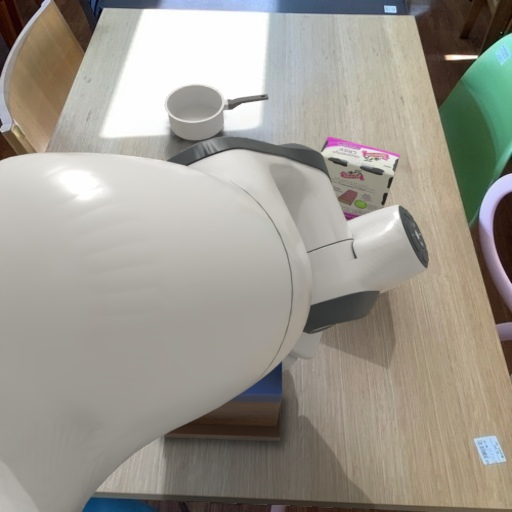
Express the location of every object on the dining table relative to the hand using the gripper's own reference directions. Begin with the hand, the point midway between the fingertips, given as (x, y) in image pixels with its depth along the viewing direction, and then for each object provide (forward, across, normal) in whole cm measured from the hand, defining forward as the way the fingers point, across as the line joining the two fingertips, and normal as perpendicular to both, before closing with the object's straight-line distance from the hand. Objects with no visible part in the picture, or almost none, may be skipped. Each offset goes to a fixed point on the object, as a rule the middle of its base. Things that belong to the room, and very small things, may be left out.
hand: (223, 315), depth 67 cm
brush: (+2, +13, +4) cm, 14 cm away
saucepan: (+8, -45, -1) cm, 46 cm away
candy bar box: (-9, -21, +16) cm, 28 cm away
